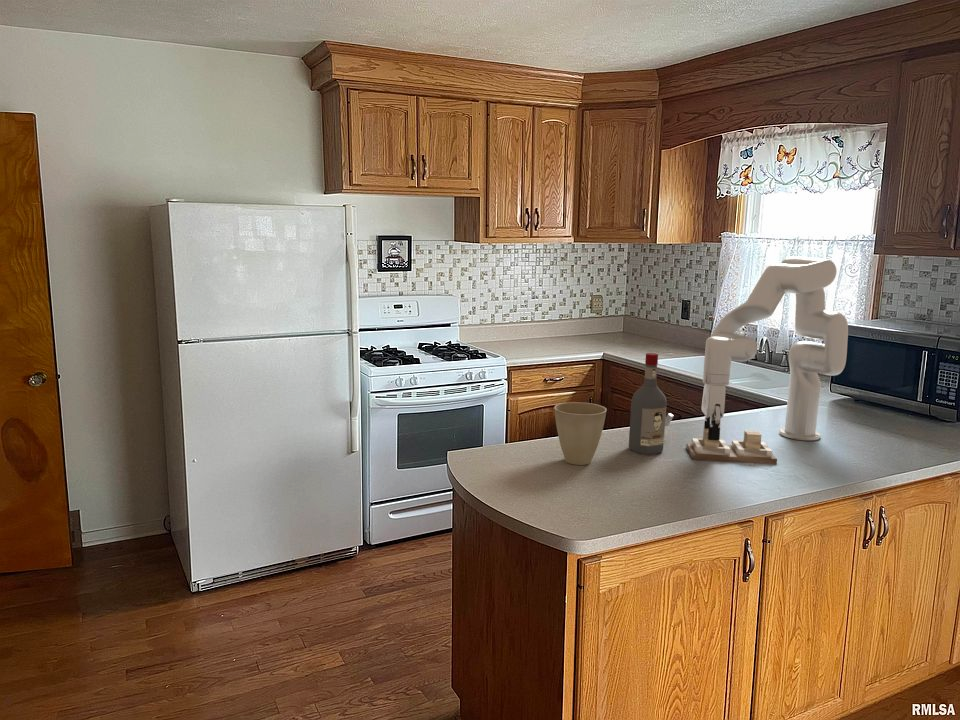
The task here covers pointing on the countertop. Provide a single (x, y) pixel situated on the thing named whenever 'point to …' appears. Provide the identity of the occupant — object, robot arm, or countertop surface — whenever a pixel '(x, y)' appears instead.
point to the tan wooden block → (709, 442)
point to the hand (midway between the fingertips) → (711, 436)
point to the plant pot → (579, 430)
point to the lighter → (668, 420)
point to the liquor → (648, 413)
